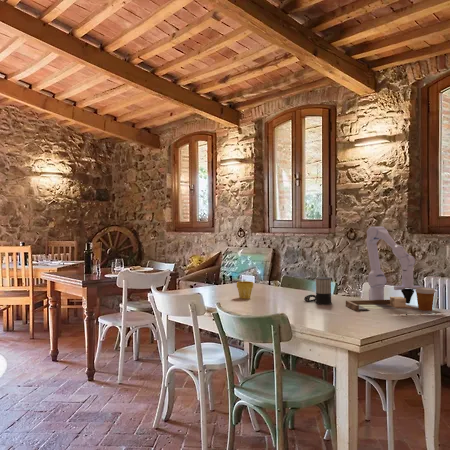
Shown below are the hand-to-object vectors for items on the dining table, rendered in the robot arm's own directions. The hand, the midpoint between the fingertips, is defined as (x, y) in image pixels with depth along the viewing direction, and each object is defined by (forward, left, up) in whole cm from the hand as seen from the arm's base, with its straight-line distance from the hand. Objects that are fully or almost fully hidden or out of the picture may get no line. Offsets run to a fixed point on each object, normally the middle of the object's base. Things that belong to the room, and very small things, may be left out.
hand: (407, 303), depth 245 cm
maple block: (0, -6, -1) cm, 6 cm away
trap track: (0, -16, -2) cm, 16 cm away
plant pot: (-43, -84, -3) cm, 94 cm away
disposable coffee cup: (+12, +3, -3) cm, 13 cm away
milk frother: (-21, -44, -3) cm, 49 cm away
